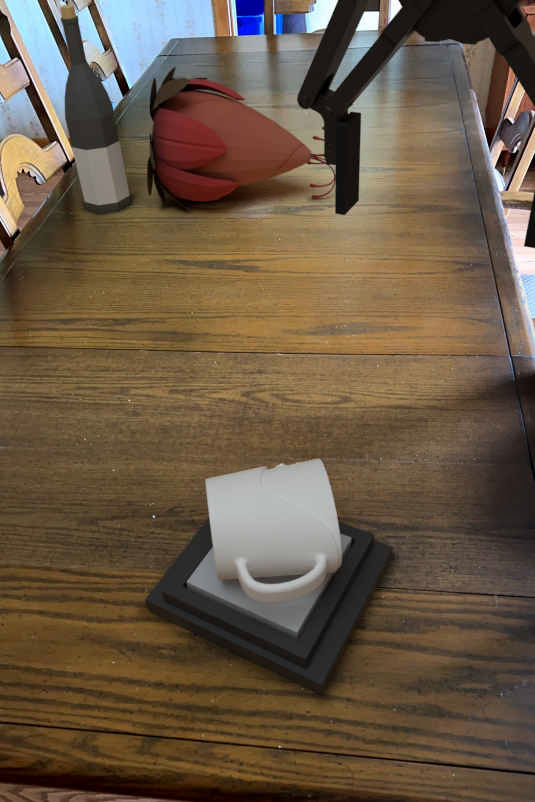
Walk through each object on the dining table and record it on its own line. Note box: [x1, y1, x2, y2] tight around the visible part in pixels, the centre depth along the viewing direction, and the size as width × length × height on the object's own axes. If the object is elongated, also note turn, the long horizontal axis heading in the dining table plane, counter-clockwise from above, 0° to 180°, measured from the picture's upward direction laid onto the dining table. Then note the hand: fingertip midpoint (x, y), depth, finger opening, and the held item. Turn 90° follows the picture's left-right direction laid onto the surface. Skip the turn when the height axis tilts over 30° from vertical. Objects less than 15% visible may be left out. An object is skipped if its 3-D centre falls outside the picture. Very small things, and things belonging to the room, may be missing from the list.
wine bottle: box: [59, 3, 131, 215], centre depth 112 cm, size 8×8×30 cm
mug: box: [204, 458, 342, 604], centre depth 56 cm, size 12×9×8 cm
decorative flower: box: [146, 66, 335, 210], centre depth 115 cm, size 22×23×30 cm
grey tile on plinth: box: [187, 533, 352, 640], centre depth 59 cm, size 10×10×2 cm
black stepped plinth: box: [144, 517, 394, 696], centre depth 60 cm, size 16×14×3 cm
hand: (435, 222), depth 51 cm, fingers open, 13 cm apart
